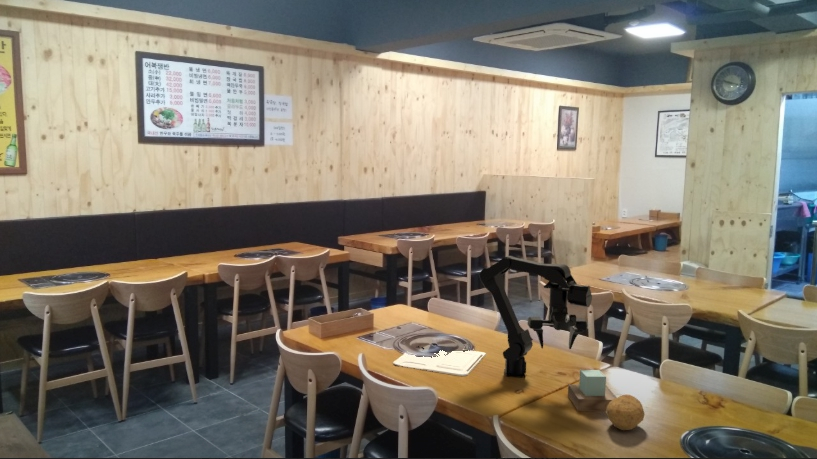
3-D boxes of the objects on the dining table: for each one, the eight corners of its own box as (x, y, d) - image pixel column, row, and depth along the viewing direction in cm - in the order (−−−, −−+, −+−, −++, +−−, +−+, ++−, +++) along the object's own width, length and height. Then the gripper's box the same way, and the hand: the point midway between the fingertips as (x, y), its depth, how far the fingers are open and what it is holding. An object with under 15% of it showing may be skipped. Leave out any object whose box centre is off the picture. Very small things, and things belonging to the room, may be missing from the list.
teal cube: (585, 395, 180) (586, 376, 179) (579, 388, 186) (580, 369, 185) (605, 395, 180) (606, 376, 179) (598, 388, 186) (599, 369, 185)
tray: (391, 366, 214) (391, 362, 214) (419, 345, 240) (419, 342, 240) (466, 378, 204) (466, 374, 204) (486, 355, 230) (487, 351, 229)
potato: (598, 431, 163) (599, 403, 162) (613, 414, 175) (615, 388, 174) (634, 441, 158) (636, 412, 157) (648, 423, 169) (649, 396, 168)
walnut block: (577, 411, 177) (578, 399, 177) (567, 396, 189) (568, 384, 189) (618, 413, 177) (618, 400, 177) (605, 397, 189) (606, 385, 189)
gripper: (534, 307, 188) (532, 355, 190) (593, 309, 188) (591, 357, 190) (528, 299, 200) (526, 345, 201) (584, 301, 199) (581, 346, 201)
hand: (555, 348), depth 198 cm, fingers open, 9 cm apart
